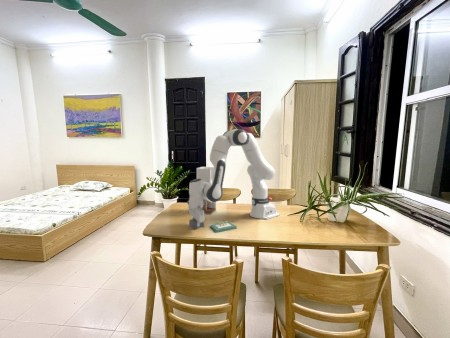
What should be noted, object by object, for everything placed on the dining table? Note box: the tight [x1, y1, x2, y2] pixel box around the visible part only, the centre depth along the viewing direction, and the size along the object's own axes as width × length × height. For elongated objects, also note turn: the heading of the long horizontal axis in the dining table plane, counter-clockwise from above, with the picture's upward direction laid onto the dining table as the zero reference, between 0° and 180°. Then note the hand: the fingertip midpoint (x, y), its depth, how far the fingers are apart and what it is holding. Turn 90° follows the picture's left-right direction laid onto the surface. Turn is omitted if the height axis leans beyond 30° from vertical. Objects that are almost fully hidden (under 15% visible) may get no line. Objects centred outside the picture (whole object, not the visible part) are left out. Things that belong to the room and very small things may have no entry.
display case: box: [196, 166, 217, 216], centre depth 176 cm, size 11×11×35 cm
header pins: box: [219, 219, 228, 226], centre depth 146 cm, size 5×1×3 cm, turn 117°
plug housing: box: [188, 218, 205, 230], centre depth 147 cm, size 8×4×5 cm, turn 117°
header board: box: [209, 221, 238, 233], centre depth 146 cm, size 14×10×2 cm
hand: (196, 224), depth 147 cm, fingers closed on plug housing, 4 cm apart
